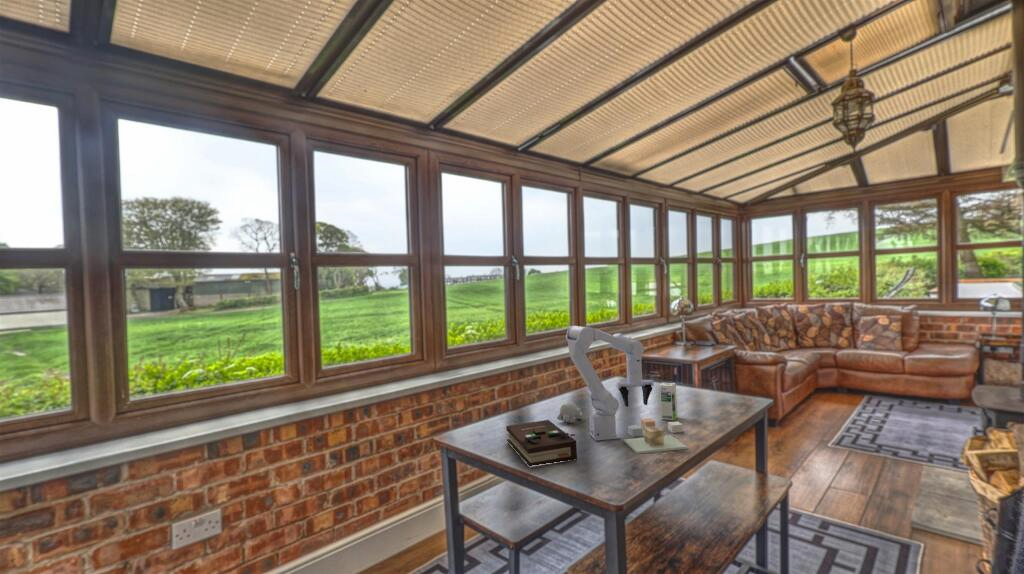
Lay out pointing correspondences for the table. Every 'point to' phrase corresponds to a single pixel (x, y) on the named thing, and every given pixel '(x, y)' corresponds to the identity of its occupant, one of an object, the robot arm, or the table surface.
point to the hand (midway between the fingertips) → (636, 405)
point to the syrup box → (668, 401)
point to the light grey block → (675, 427)
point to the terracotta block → (647, 422)
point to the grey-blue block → (635, 430)
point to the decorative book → (542, 442)
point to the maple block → (653, 435)
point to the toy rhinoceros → (569, 412)
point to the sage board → (642, 447)
